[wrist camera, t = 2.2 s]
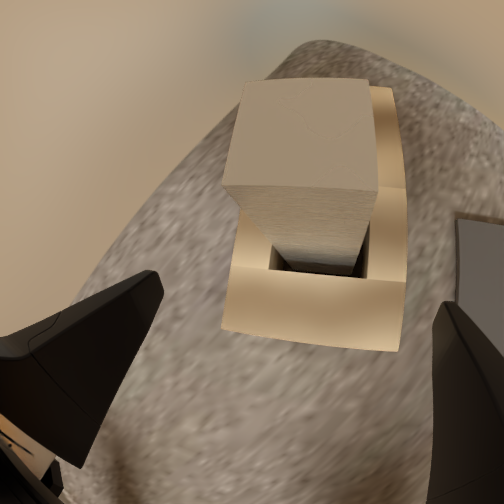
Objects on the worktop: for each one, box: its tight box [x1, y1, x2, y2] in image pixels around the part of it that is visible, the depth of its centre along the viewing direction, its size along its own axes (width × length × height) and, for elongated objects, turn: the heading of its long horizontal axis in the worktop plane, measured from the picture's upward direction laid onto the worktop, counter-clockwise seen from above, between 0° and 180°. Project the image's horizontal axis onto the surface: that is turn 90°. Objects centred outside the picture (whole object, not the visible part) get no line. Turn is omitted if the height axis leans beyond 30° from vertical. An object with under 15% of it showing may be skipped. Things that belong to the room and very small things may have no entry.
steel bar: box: [221, 78, 379, 275], centre depth 13 cm, size 4×4×13 cm
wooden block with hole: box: [221, 86, 407, 352], centre depth 18 cm, size 18×10×4 cm, turn 173°
